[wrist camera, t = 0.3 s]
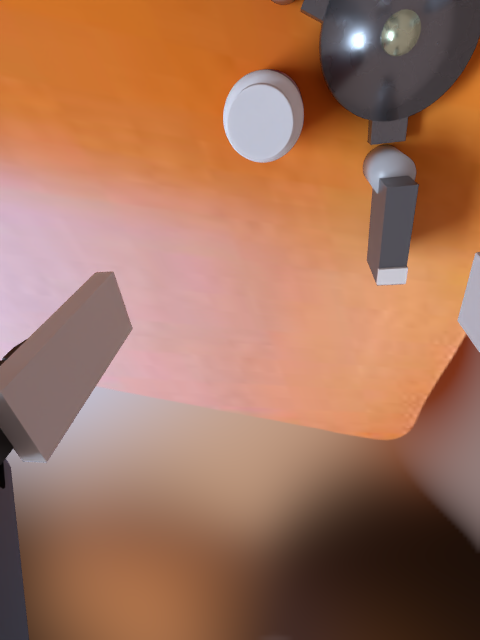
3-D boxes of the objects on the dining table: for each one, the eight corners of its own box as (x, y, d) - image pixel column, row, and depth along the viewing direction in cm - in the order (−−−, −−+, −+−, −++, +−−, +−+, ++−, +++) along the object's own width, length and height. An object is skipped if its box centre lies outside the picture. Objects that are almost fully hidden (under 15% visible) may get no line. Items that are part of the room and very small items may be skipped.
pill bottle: (269, 51, 31) (260, 42, 22) (316, 107, 33) (325, 121, 24) (222, 111, 34) (198, 126, 25) (268, 159, 36) (261, 189, 27)
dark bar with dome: (363, 146, 34) (381, 165, 28) (403, 142, 34) (432, 160, 27) (357, 251, 40) (371, 287, 34) (391, 248, 40) (411, 285, 33)
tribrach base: (299, -47, 27) (299, -56, 25) (516, -92, 25) (537, -107, 23) (303, 149, 35) (304, 154, 33) (470, 129, 32) (483, 134, 30)
